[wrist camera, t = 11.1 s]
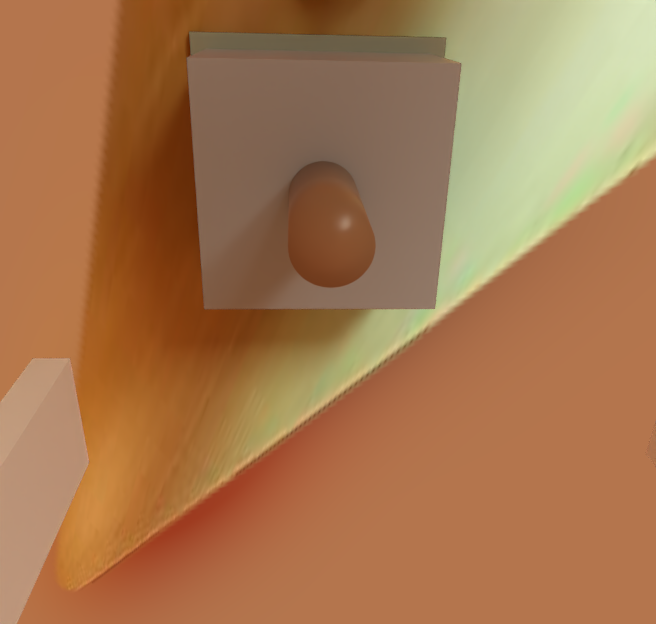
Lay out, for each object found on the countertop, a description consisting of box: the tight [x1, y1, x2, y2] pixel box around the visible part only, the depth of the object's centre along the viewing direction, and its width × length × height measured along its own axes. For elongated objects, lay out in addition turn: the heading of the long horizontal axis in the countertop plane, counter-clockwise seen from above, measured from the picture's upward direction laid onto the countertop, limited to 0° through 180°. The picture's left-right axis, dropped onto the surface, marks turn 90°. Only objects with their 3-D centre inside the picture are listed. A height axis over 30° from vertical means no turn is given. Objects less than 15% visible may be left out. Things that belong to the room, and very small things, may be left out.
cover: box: [187, 49, 461, 309], centre depth 33 cm, size 13×13×16 cm
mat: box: [189, 32, 446, 58], centre depth 40 cm, size 15×15×1 cm
